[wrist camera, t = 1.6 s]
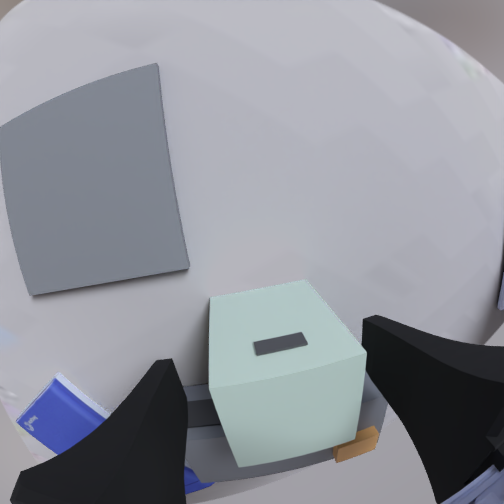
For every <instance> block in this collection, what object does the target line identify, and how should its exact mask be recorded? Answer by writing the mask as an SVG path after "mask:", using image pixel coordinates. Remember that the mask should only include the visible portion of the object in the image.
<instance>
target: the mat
mask: <svg viewBox="0 0 504 504" xmlns="http://www.w3.org/2000/svg"><path fill="white" fill-rule="evenodd" d="M0 161H1V172H2V181H3V189H4V196H5V203H6V209H7V214H8V219H9V224H10V229H11V234H12V238H13V242H14V246H15V250H16V254H17V257H18V261H19V265H20V268H21V271H22V274H23V278H24V281H25V284H26V287H27V290H28V293H29V295H30V296H31V295H37V294H43V293H49V292H55V291H61V290H67V289H72V288H78V287H84V286H90V285H96V284H102V283H107V282H113V281H119V280H125V279H131V278H136V277H142V276H148V275H154V274H159V273H165V272H171V271H176V270H182V269H188V268H189V267H190V263H189V259H188V254H187V249H186V244H185V240H184V235H183V230H182V225H181V219H180V214H179V209H178V203H177V198H176V192H175V187H174V181H173V175H172V168H171V162H170V156H169V149H168V142H167V135H166V128H165V120H164V112H163V104H162V95H161V85H160V75H159V66H158V64H157V63H154V64H150V65H146V66H142V67H139V68H135V69H131V70H128V71H125V72H121V73H118V74H115V75H112V76H109V77H106V78H103V79H100V80H97V81H94V82H92V83H89V84H86V85H84V86H81V87H79V88H76V89H74V90H71V91H69V92H67V93H64V94H62V95H60V96H57V97H55V98H53V99H51V100H49V101H47V102H45V103H43V104H40V105H38V106H36V107H35V108H33V109H31V110H29V111H27V112H25V113H23V114H21V115H20V116H18V117H16V118H14V119H12V120H11V121H9V122H7V123H6V124H4V125H2V126H1V127H0Z"/></svg>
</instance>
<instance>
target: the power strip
mask: <svg viewBox="0 0 504 504" xmlns="http://www.w3.org/2000/svg"><path fill="white" fill-rule="evenodd" d="M183 389H184V391H185V394H186V396H187V403H188V430H187V441H186V453H185V459H186V461H187V462H188V464H189V465H190V467H191V468H192V470H193V471H194V473H195V474H196V476H197V477H198V479H199V480H200V482H201V483H210V482H222V481H231V480H239V479H246V478H253V477H259V476H265V475H270V474H275V473H280V472H285V471H289V470H294V469H298V468H302V467H306V466H310V465H313V464H317V463H320V462H324V461H327V460H330V459H333V458H335V461H336V463H338V462H341V461H344V460H347V459H350V458H353V457H356V456H358V455H361V454H363V453H366V452H368V451H371V450H373V449H375V446H376V443H377V442H378V438H379V435H380V432H381V428H382V425H383V421H384V417H385V413H386V409H387V405H388V402H387V401H386V399H385V398H384V397H383V395H382V394H381V393H380V391H379V390H378V389H377V387H376V386H375V385H374V383H373V382H372V380H371V379H370V377H369V375H368V374H367V372H366V370H365V377H364V385H363V393H362V401H361V407H360V414H359V420H358V426H357V431H356V437H355V439H354V440H351V441H349V442H346V443H343V444H340V445H337V446H333V447H330V448H327V449H323V450H320V451H317V452H313V453H309V454H305V455H301V456H297V457H293V458H289V459H284V460H280V461H275V462H270V463H264V464H259V465H253V466H246V467H238V465H237V462H236V460H235V458H234V455H233V453H232V450H231V448H230V445H229V443H228V440H227V437H226V435H225V432H224V430H223V427H222V424H221V422H220V419H219V416H218V413H217V411H216V408H215V405H214V402H213V399H212V396H211V393H210V390H209V384H203V385H195V386H187V387H183Z"/></svg>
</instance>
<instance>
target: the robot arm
mask: <svg viewBox="0 0 504 504" xmlns="http://www.w3.org/2000/svg"><path fill="white" fill-rule="evenodd" d="M498 309H500V310H503V309H504V274H503V280H502V286H501V291H500V296H499V301H498ZM362 347H363V348H364V349H365V351H366V352H367V357H366V368H365V370H366V372H367V374H368V375H369V377H370V379H371V380H372V382H373V383H374V385H375V386H376V387H377V389H378V390H379V391H380V393H381V394H382V395H383V397H384V398H385V399H386V401H387V402H388V403H389V405H390V406H391V407H392V409H393V410H394V411H395V413H396V414H397V415H398V417H399V418H400V420H401V421H402V423H403V425H404V426H405V428H406V430H407V432H408V434H409V436H410V437H411V439H412V441H413V443H414V445H415V447H416V449H417V451H418V454H419V456H420V458H421V460H422V463H423V465H424V467H425V470H426V472H427V475H428V478H429V480H430V483H431V486H432V489H433V493H434V496H435V500H436V503H437V504H504V347H501V346H485V345H475V344H469V343H463V342H458V341H454V340H450V339H446V338H442V337H439V336H435V335H432V334H429V333H426V332H423V331H420V330H417V329H415V328H412V327H409V326H407V325H404V324H401V323H399V322H396V321H393V320H391V319H388V318H385V317H382V316H379V315H374V316H371V317H368V318H364V319H363V328H362ZM187 430H188V403H187V396H186V394H185V391H184V389H183V386H182V384H181V381H180V379H179V376H178V373H177V371H176V368H175V365H174V363H173V360H172V359H164V360H156V361H155V363H154V364H153V365H152V366H151V368H150V369H149V370H148V371H147V373H146V374H145V375H144V377H143V378H142V379H141V380H140V382H139V383H138V384H137V385H136V387H135V388H134V389H133V390H132V392H131V393H130V394H129V395H128V396H127V398H126V399H125V400H124V401H123V402H122V403H121V404H120V405H119V406H118V408H117V409H116V410H115V411H114V412H113V413H112V414H111V415H110V416H109V417H108V418H107V419H106V420H105V421H104V422H103V423H102V424H101V425H99V426H98V427H97V428H96V429H95V430H94V431H93V432H91V433H90V434H89V435H87V436H86V437H85V438H83V439H82V440H81V441H79V442H78V443H76V444H75V445H74V446H72V447H71V448H69V449H67V450H66V451H64V452H63V453H61V454H59V455H57V456H55V457H54V458H52V459H50V460H48V461H46V462H44V463H41V464H39V465H36V466H34V467H31V468H29V469H27V470H24V471H21V472H20V475H19V477H18V480H17V482H16V485H15V488H14V490H13V493H12V496H11V498H10V501H11V503H12V504H186V496H185V483H184V466H185V453H186V441H187Z"/></svg>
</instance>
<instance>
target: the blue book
mask: <svg viewBox="0 0 504 504" xmlns="http://www.w3.org/2000/svg"><path fill="white" fill-rule="evenodd" d="M110 415H111V414H109V413H108V412H107V411H105V410H104V409H103V408H101V407H100V406H99V405H97V404H96V403H95V402H94V401H92V400H91V399H90V398H89V397H87V396H86V395H85V394H84V393H82V392H81V391H80V390H79V389H78V388H76V387H75V386H74V385H73V384H72V383H71V382H70V381H68V380H67V379H66V378H65V377H64V376H63V375H62V374H61V373H60V372H57V373H56V374H55V376H54V377H53V378H52V379H51V380H50V381H49V382H48V383H47V384H46V385H45V386H44V387H43V389H42V390H41V391H40V392H39V393H38V394H37V395H36V396H35V397H34V398H33V400H32V401H31V402H30V403H29V404H28V405H27V406H26V408H25V409H24V410H23V411H22V412H21V413H20V414H19V416H18V418H17V420H16V422H17V423H18V424H19V425H20V426H21V427H22V428H23V429H25V430H26V431H27V432H28V433H30V434H31V435H32V436H33V437H35V438H36V439H37V440H38V441H40V442H41V443H42V444H44V445H45V446H46V447H48V448H49V449H50V450H52V451H53V452H55V453H56V454H57V455H59V454H61V453H63V452H64V451H66V450H67V449H69V448H71V447H72V446H74V445H75V444H76V443H78V442H79V441H81V440H82V439H83V438H85V437H86V436H87V435H89V434H90V433H91V432H93V431H94V430H95V429H96V428H97V427H98V426H99V425H101V424H102V423H103V422H104V421H105V420H106V419H107V418H108V417H109V416H110ZM184 483H185V494H188V493H192V492H195V491H198V490H201V489H204V488H206V487H209V486H211V485H212V484H214V483H215V482H210V483H201V482H200V480H199V479H198V477H197V476H196V474H195V473H194V471H193V470H192V468H191V467H190V465H189V464H188V462H187V461H186V460H185V466H184Z"/></svg>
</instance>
